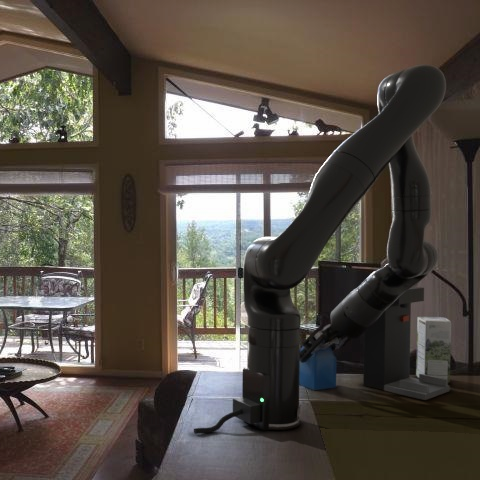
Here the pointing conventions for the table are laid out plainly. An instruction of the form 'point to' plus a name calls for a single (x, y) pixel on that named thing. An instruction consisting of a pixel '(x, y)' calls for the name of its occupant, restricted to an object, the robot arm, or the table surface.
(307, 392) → the table surface
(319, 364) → the perfume bottle
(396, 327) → the coffee maker
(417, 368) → the syrup box
